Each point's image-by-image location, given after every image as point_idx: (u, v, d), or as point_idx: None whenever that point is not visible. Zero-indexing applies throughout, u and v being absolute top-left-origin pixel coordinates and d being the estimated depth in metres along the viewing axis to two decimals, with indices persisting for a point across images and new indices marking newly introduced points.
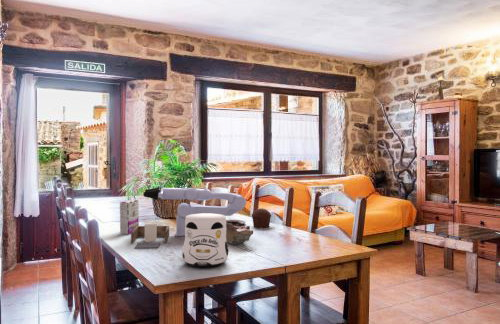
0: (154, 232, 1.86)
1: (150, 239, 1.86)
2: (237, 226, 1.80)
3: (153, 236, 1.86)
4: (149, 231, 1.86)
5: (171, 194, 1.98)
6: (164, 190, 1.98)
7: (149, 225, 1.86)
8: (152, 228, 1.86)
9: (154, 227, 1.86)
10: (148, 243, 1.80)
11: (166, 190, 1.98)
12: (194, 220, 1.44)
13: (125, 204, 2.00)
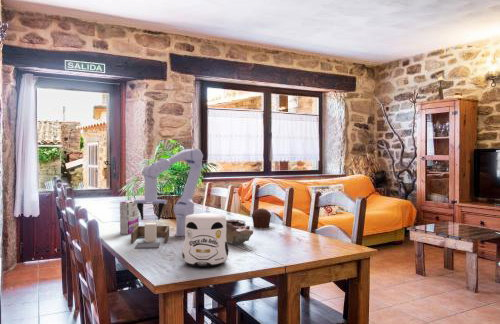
0: (154, 232, 1.86)
1: (150, 239, 1.86)
2: (237, 226, 1.80)
3: (153, 236, 1.86)
4: (149, 231, 1.86)
5: (156, 191, 1.88)
6: (155, 198, 1.87)
7: (149, 225, 1.86)
8: (152, 228, 1.86)
9: (154, 227, 1.86)
10: (148, 243, 1.80)
11: (155, 196, 1.86)
12: (194, 220, 1.44)
13: (125, 204, 2.00)
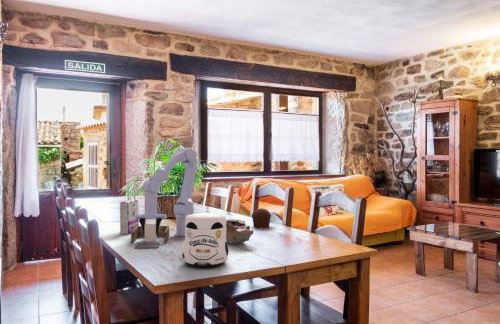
0: (154, 232, 1.86)
1: (150, 239, 1.86)
2: (237, 226, 1.80)
3: (153, 236, 1.86)
4: (149, 230, 1.86)
5: (156, 205, 1.89)
6: (155, 213, 1.87)
7: (149, 225, 1.86)
8: (152, 227, 1.86)
9: (154, 227, 1.86)
10: (148, 243, 1.80)
11: (155, 211, 1.87)
12: (194, 220, 1.44)
13: (125, 204, 2.00)
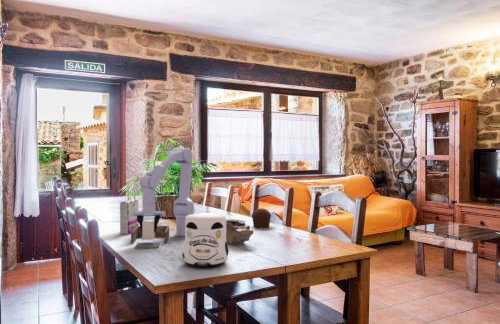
0: (152, 230, 1.79)
1: (148, 237, 1.79)
2: (237, 226, 1.80)
3: (151, 234, 1.79)
4: (147, 228, 1.79)
5: None
6: (153, 210, 1.79)
7: (147, 222, 1.79)
8: (150, 225, 1.79)
9: (152, 225, 1.79)
10: (148, 243, 1.80)
11: (153, 208, 1.79)
12: (194, 220, 1.44)
13: (125, 204, 2.00)
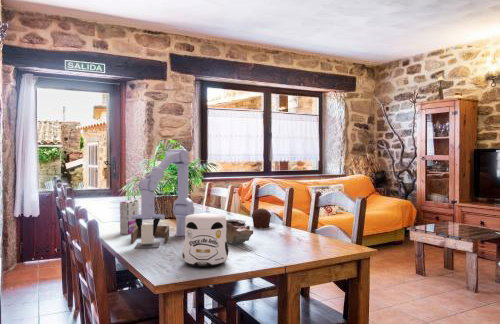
0: (151, 233, 1.75)
1: (147, 241, 1.75)
2: (237, 226, 1.80)
3: (150, 238, 1.75)
4: (146, 232, 1.75)
5: None
6: (152, 214, 1.75)
7: (146, 226, 1.74)
8: (149, 229, 1.75)
9: (151, 228, 1.75)
10: (148, 243, 1.80)
11: (152, 211, 1.75)
12: (194, 220, 1.44)
13: (125, 204, 2.00)
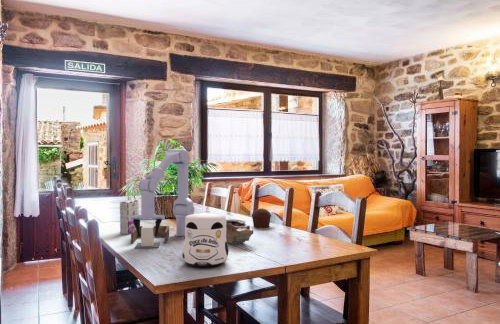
0: (151, 236, 1.75)
1: (147, 244, 1.75)
2: (237, 226, 1.80)
3: (150, 241, 1.75)
4: (146, 235, 1.75)
5: None
6: (152, 214, 1.75)
7: (146, 229, 1.75)
8: (149, 231, 1.75)
9: (151, 231, 1.75)
10: None
11: (152, 212, 1.75)
12: (194, 220, 1.44)
13: (125, 204, 2.00)
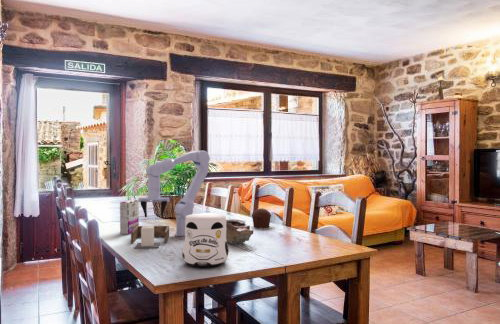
0: (151, 236, 1.75)
1: (147, 244, 1.75)
2: (237, 226, 1.81)
3: (150, 241, 1.75)
4: (146, 235, 1.75)
5: None
6: (158, 197, 1.91)
7: (146, 229, 1.75)
8: (149, 231, 1.75)
9: (151, 231, 1.75)
10: None
11: (158, 195, 1.91)
12: (194, 220, 1.44)
13: (125, 204, 2.00)
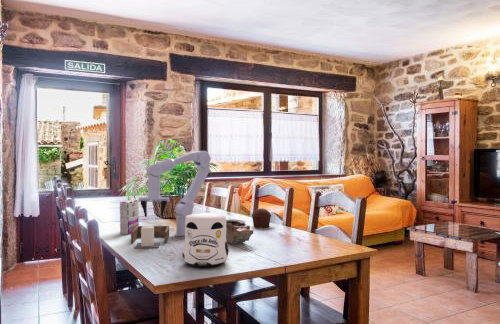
0: (151, 236, 1.75)
1: (147, 244, 1.75)
2: (237, 226, 1.81)
3: (150, 241, 1.75)
4: (146, 235, 1.75)
5: None
6: (158, 196, 1.92)
7: (146, 229, 1.75)
8: (149, 231, 1.75)
9: (151, 231, 1.75)
10: None
11: (158, 194, 1.92)
12: (194, 220, 1.44)
13: (125, 204, 2.00)
